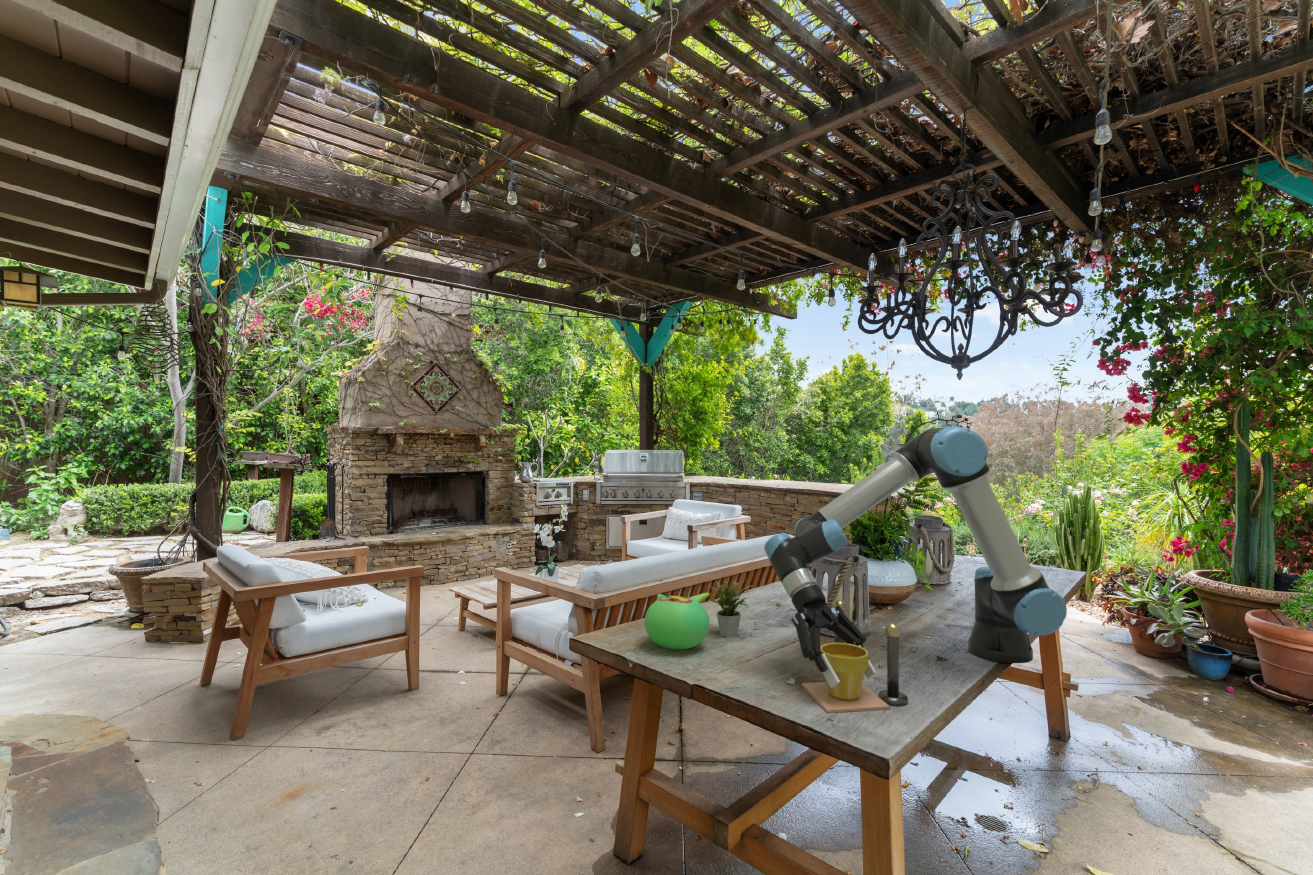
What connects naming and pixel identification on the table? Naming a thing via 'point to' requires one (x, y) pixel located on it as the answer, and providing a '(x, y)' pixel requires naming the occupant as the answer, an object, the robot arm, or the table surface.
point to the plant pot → (846, 668)
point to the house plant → (729, 609)
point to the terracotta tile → (834, 704)
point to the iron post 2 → (893, 669)
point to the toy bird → (677, 621)
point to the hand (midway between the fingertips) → (854, 680)
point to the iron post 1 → (843, 607)
